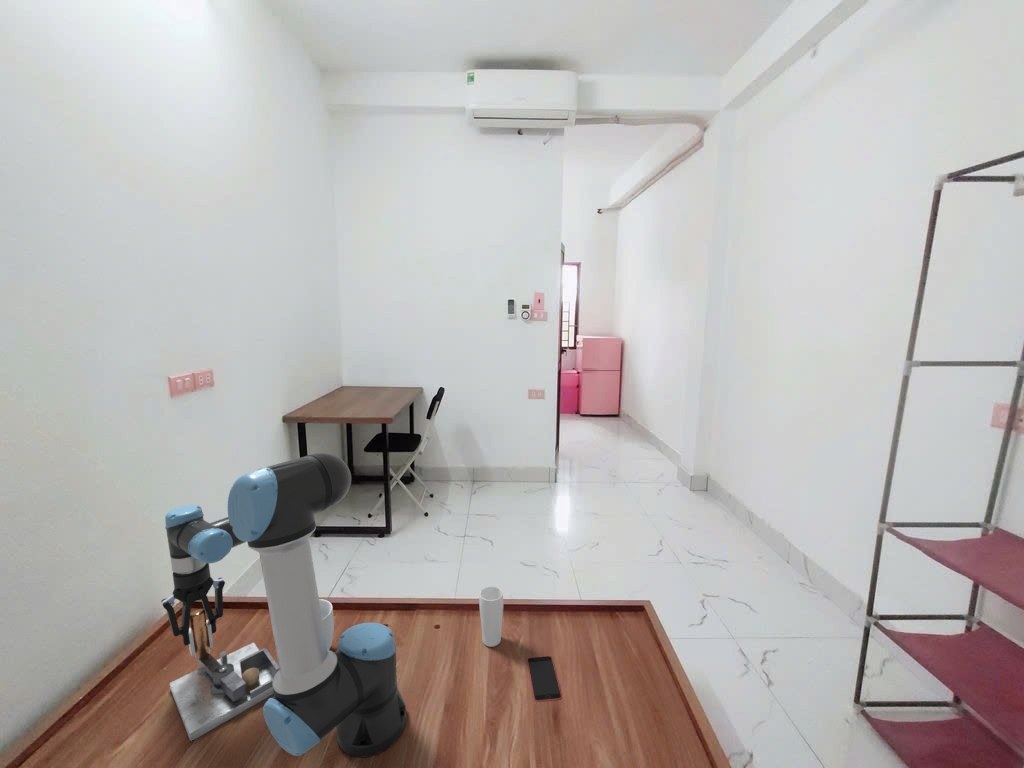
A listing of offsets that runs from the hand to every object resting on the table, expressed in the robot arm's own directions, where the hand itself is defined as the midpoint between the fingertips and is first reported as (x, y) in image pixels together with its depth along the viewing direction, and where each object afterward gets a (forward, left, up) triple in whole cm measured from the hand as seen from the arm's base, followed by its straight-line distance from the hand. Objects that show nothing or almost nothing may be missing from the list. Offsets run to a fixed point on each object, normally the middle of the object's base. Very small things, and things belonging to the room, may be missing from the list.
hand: (201, 648), depth 117 cm
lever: (-9, -1, -3) cm, 10 cm away
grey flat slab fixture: (-12, -2, -6) cm, 14 cm away
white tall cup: (-48, -59, -6) cm, 76 cm away
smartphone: (-67, -59, -7) cm, 89 cm away
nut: (-17, -6, -4) cm, 19 cm away
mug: (-17, -22, -6) cm, 28 cm away
